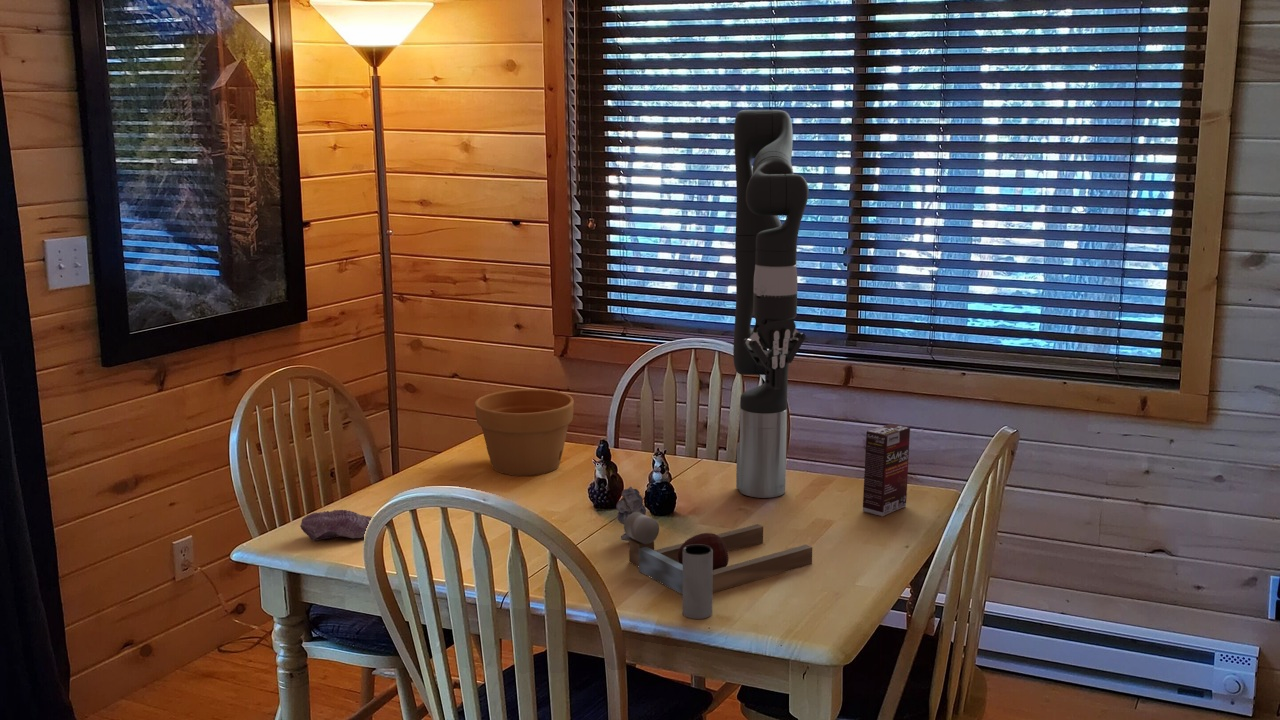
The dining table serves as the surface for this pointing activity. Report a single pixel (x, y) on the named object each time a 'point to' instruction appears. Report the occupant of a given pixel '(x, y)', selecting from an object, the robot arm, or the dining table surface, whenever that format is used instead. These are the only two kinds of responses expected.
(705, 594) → the grey tube
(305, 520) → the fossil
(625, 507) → the grey lumpy rock
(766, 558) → the bay
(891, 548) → the dining table surface
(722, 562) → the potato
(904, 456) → the supplement box
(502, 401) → the flower pot
